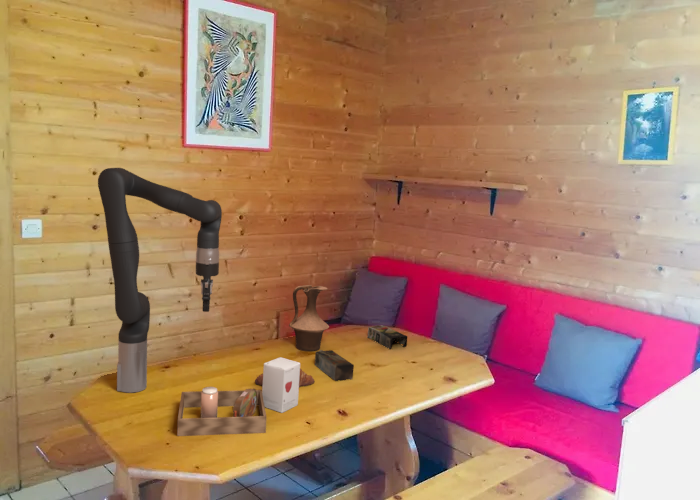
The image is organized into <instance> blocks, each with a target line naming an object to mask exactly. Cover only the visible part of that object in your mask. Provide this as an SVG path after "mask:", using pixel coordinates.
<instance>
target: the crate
mask: <svg viewBox="0 0 700 500" xmlns="http://www.w3.org/2000/svg"><path fill="white" fill-rule="evenodd" d="M245 390H246V389H245ZM245 390H217V391H218V407H234V403H235V401H236V399H237V398H238V397H239V396H240V395H241V394H242V393H243V392H244V391H245ZM255 390H256V392H257V406H258V409H259V416H258V415H256V416H255V415H252V416H250V417H233V416H223V417H218V416H217V418H201V417H189V418H188V417H187V418H185V417H184V411H185V409H184V408H201V392H202V391H203V390H200V391H181V395H180V401H179V408H178V409H179V410H178V416H177V434H176V435H177V436H176V437H186V436H216V435H219V436H220V435H240V434H241V435H242V434H245V435H246V434H266V433H267V413H266V407H265V406H264V401H263V395H262V389H255ZM183 417H184V418H183Z"/></svg>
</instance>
